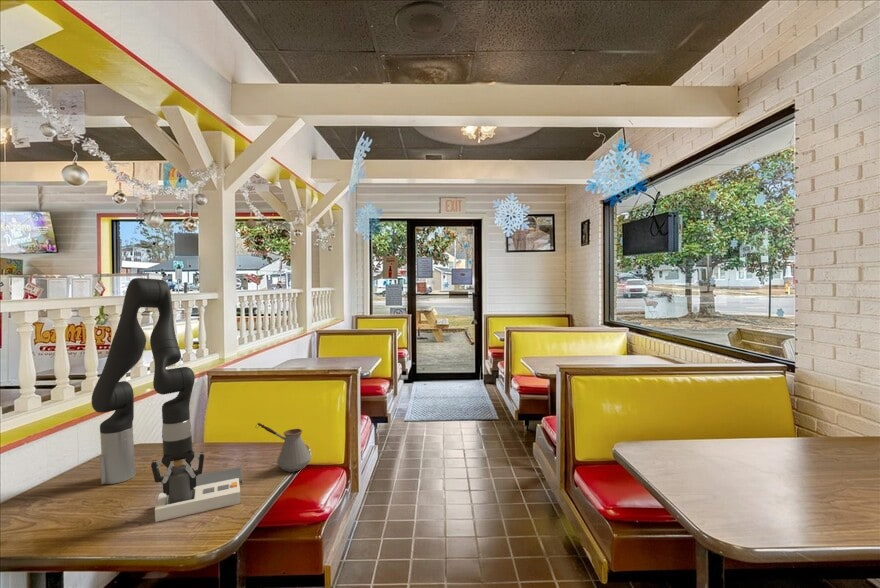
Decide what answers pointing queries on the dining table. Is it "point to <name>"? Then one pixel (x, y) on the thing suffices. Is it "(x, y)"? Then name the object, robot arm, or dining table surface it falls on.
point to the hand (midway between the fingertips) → (180, 491)
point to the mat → (219, 476)
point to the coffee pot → (291, 450)
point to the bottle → (179, 483)
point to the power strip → (200, 500)
